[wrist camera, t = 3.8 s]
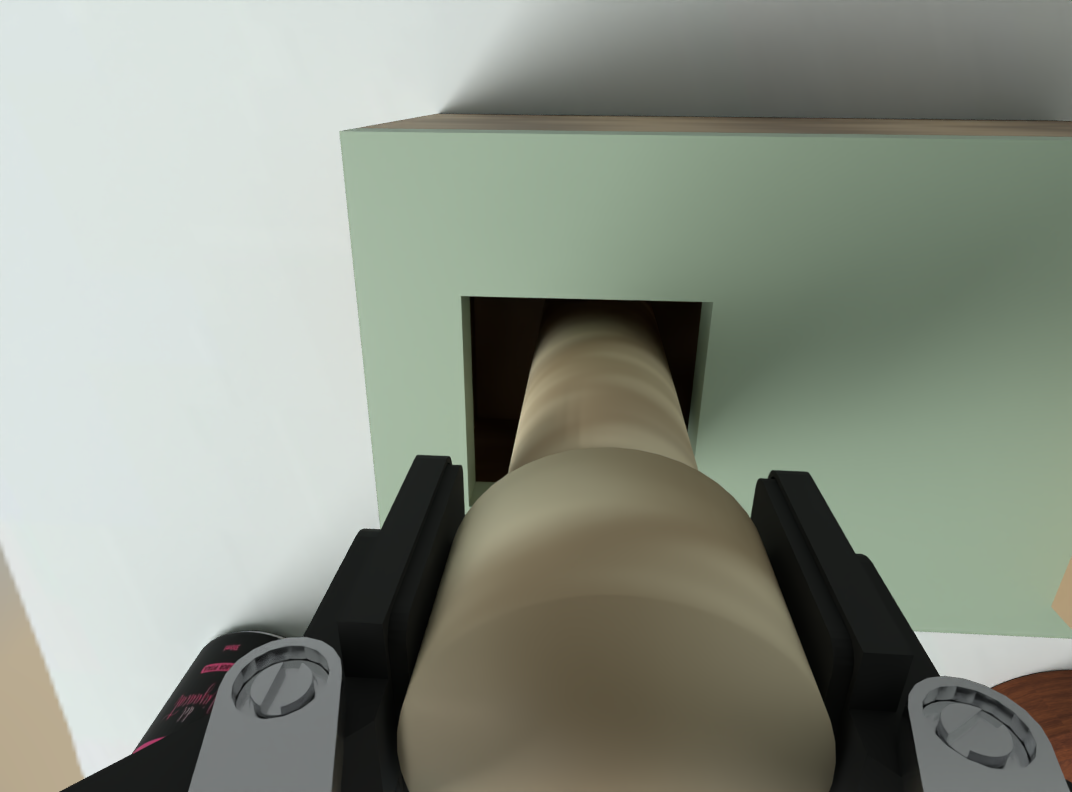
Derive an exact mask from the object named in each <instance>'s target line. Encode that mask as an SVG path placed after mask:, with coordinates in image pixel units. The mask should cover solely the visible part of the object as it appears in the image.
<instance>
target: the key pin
mask: <svg viewBox="0 0 1072 792" xmlns="http://www.w3.org/2000/svg"><path fill="white" fill-rule="evenodd" d="M397 753H398V758H399V763H400V768H401V772H402V775H403V777H404V780H405V783H406V785H407V788H408V790H409V792H829V790H830V788H831V785H832V782H833V776H834V770H835V764H836V751H835V738H834V734H833V729H832V725H831V721H830V718H829V715H828V713H827V710H826V707H825V705H824V702H823V700H822V697H821V694H820V692H819V689H818V686H817V684H816V681H815V679H814V676H813V673H812V671H811V668H810V665H809V663H808V660H807V658H806V655H805V652H804V650H803V647H802V644H801V642H800V639H799V637H798V634H797V631H796V629H795V626H794V623H793V621H792V618H791V616H790V613H789V610H788V608H787V605H786V602H785V600H784V597H783V594H782V592H781V589H780V587H779V584H778V581H777V579H776V576H775V573H774V571H773V568H772V566H771V563H770V560H769V558H768V555H767V552H766V550H765V547H764V545H763V542H762V540H761V537H760V535H759V533H758V530H757V528H756V526H755V525H754V523H753V522H752V520H751V518H750V517H749V515H748V514H747V512H746V511H745V510H744V509H743V507H742V506H741V505H740V504H739V503H738V501H737V500H736V499H735V498H734V497H733V496H732V495H731V494H730V493H729V492H727V491H726V490H725V489H724V488H723V487H722V486H721V485H719V484H718V483H717V482H715V481H714V480H712V479H711V478H709V477H708V476H706V475H705V474H703V473H702V472H700V471H698V468H697V464H696V461H695V457H694V454H693V450H692V447H691V443H690V440H689V436H688V432H687V429H686V425H685V422H684V418H683V415H682V411H681V408H680V404H679V401H678V397H677V394H676V390H675V387H674V383H673V379H672V376H671V372H670V369H669V365H668V362H667V358H666V355H665V351H664V348H663V344H662V341H661V337H660V334H659V330H658V327H657V323H656V319H655V316H654V312H653V309H652V305H651V302H650V301H647V300H605V299H564V298H547V300H546V303H545V305H544V309H543V314H542V318H541V323H540V328H539V332H538V337H537V342H536V346H535V351H534V355H533V360H532V365H531V369H530V374H529V379H528V383H527V388H526V392H525V397H524V402H523V406H522V411H521V416H520V420H519V425H518V429H517V434H516V439H515V443H514V448H513V453H512V457H511V462H510V466H509V471H508V474H507V475H506V476H504V477H503V478H502V479H500V480H499V481H497V482H496V483H495V484H493V485H492V486H491V487H490V488H489V489H488V490H487V491H486V492H484V493H483V494H482V495H481V496H480V497H479V498H478V499H477V500H476V502H475V503H474V504H473V506H472V507H471V508H470V509H469V511H468V512H467V513H466V515H465V517H464V518H463V520H462V522H461V524H460V526H459V527H458V529H457V532H456V535H455V537H454V540H453V543H452V546H451V549H450V552H449V555H448V559H447V562H446V565H445V568H444V572H443V575H442V578H441V581H440V585H439V588H438V591H437V595H436V598H435V601H434V604H433V608H432V611H431V614H430V617H429V621H428V624H427V627H426V630H425V634H424V637H423V640H422V644H421V647H420V650H419V653H418V657H417V660H416V663H415V666H414V670H413V673H412V676H411V680H410V683H409V686H408V689H407V692H406V696H405V699H404V702H403V706H402V709H401V712H400V717H399V723H398V729H397Z"/></svg>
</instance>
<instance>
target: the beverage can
mask: <svg viewBox="0 0 1072 792" xmlns="http://www.w3.org/2000/svg"><path fill="white" fill-rule="evenodd" d="M280 639H284V637H281V636H278V635H275V634H271V633H267V632H259V631H244V632H234V633H229V634H225V635H223V636H220V637H218V638H216V639H214V640H212V641H211V642H210V643H208V644H207V645H206V646H205V647H204V648H203V649H202V650H201V652H200V653H199V655H198V656H197V658H196V659H195V661H194V662H193V664H192V665H191V667H190V668H189V670H188V671H187V673H186V674H185V676H184V677H183V679H182V680H181V682H180V683H179V685H178V686H177V688H176V689H175V691H174V692H173V693H172V695H171V696H170V698H169V699H168V701H167V702H166V704H165V705H164V707H163V708H162V710H161V711H160V713H159V714H158V716H157V717H156V719H155V720H154V722H153V723H152V725H151V726H150V728H149V729H148V731H147V732H146V734H145V735H144V737H143V738H142V740H141V741H140V743H139V744H138V746H137V747H136V749H135V750H134V752H133V753H135V752H137V751H139V750H141V749H143V748H145V747H147V746H149V745H150V744H152V743H154V742H156V741H158V740H160V739H162V738H164V737H166V736H168V735H170V734H172V733H174V732H176V731H177V730H179V729H181V728H183V727H185V726H187V725H189V724H191V723H193V722H195V721H197V720H199V719H201V718H203V717H204V716H206V715H208V714H210V713H211V712H212V709H213V705H214V702H215V699H216V695H217V692H218V688H219V686H220V684H221V682H222V680H223V678H224V676H225V674H226V673H227V672H228V671H229V669H230V668H231V667H232V666H233V665H234V664H235V663H236V662H237V661H238V660H239V659H240V658H242V657H243V656H245V655H246V654H248V653H249V652H250V651H252V650H253V649H255V648H258V647H260V646H262V645H264V644H267V643H269V642H271V641H276V640H280ZM133 753H132V754H133Z"/></svg>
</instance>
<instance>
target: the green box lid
mask: <svg viewBox="0 0 1072 792" xmlns="http://www.w3.org/2000/svg"><path fill="white" fill-rule="evenodd" d="M339 132H340V141H341V151H342V161H343V171H344V180H345V190H346V200H347V209H348V219H349V229H350V239H351V248H352V258H353V268H354V277H355V287H356V297H357V307H358V316H359V326H360V336H361V345H362V355H363V365H364V375H365V384H366V394H367V404H368V413H369V423H370V433H371V443H372V452H373V462H374V472H375V482H376V491H377V501H378V511H379V520H380V529H381V528H382V526H383V524H384V521H385V519H386V517H387V515H388V513H389V511H390V509H391V507H392V505H393V503H394V501H395V498H396V496H397V494H398V492H399V490H400V488H401V486H402V484H403V482H404V480H405V477H406V475H407V473H408V471H409V469H410V467H411V465H412V463H413V461H414V459H415V457H416V455H437V456H450V457H451V461H452V465H462V467H463V478H464V503H465V515H466V513H467V512H468V511H469V509H470V508H471V507H472V506H473V504H474V503H475V502H476V500H477V499H478V498H479V497H480V496H481V495H482V494H483V493H484V492H486V491H487V490H488V489H489V488H490V487H491V486H492V485H493V484H495V483H496V482H476V479H475V448H474V418H473V387H472V356H471V326H470V296H482V297H523V298H564V299H605V300H647V301H688V302H702V308H701V317H700V326H699V335H698V344H697V353H696V362H695V371H694V380H693V389H692V398H691V407H690V415H689V424H688V436H689V440H690V443H691V447H692V450H693V454H694V457H695V461H696V464H697V468H698V471H700V472H702V473H703V474H705V475H706V476H708V477H709V478H711V479H712V480H714V481H715V482H717V483H718V484H719V485H721V486H722V487H723V488H724V489H725V490H726V491H727V492H729V493H730V494H731V495H732V496H733V497H734V498H735V499H736V500H737V501H738V503H739V504H740V505H741V506H742V507H743V509H744V510H745V511H746V512H747V514H748V515H749V517H751V511H752V505H753V499H754V493H755V487H756V483H757V480H758V479H759V478H767V479H768V476H769V473H770V472H771V471H772V470H784V471H806V472H809V474H810V475H811V476H812V478H813V480H814V482H815V483H816V485H817V487H818V489H819V490H820V492H821V494H822V496H823V497H824V499H825V501H826V503H827V504H828V506H829V508H830V510H831V511H832V513H833V515H834V517H835V518H836V520H837V522H838V524H839V525H840V527H841V529H842V531H843V532H844V534H845V536H846V538H847V539H848V541H849V543H850V545H851V546H852V548H853V550H854V552H855V553H856V554H863V555H866V556H867V557H868V558H869V559H870V560H871V561H872V563H873V564H874V566H875V568H876V569H877V571H878V573H879V575H880V576H881V578H882V580H883V581H884V583H885V585H886V586H887V588H888V590H889V591H890V593H891V595H892V596H893V598H894V600H895V601H896V603H897V605H898V606H899V608H900V610H901V611H902V613H903V615H904V616H905V618H906V620H907V622H908V623H909V625H910V627H911V628H912V630H913V631H919V632H940V633H961V634H983V635H1004V636H1025V637H1046V638H1068V639H1072V137H1047V136H964V135H882V134H800V133H717V132H635V131H553V130H471V129H388V128H355V129H350V130H344V131H339Z"/></svg>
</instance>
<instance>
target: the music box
mask: <svg viewBox="0 0 1072 792" xmlns="http://www.w3.org/2000/svg"><path fill="white" fill-rule="evenodd" d="M991 689H993V690H995V691H997V692H999V693H1001V694H1003V695H1005V696H1007V697H1008V698H1009V699H1011V700H1012V701H1013V702H1015V703H1016V704H1017V705H1019V706H1020V707H1022V708H1023V709H1024V710H1026V711H1027V712H1028V713H1029V715H1030V716H1031V717H1032V718H1033V719H1034V720H1035V721H1036V722H1037V723H1038V724H1039V725H1040V726H1041V727H1042V729H1043V731H1044V732H1045V734H1046V736H1047V738H1048V739H1049V741H1050V743H1051V745H1052V747H1053V750H1054V752H1055V755H1056V758H1057V760H1058V763H1059V765H1060V768H1061V770H1062V773H1063V775H1064V778H1065V779H1066V780H1068V781H1070V782H1072V670H1061V671H1050V672H1043V673H1037V674H1032V675H1027V676H1023V677H1020V678H1016V679H1013V680H1010V681H1007V682H1005V683H1002V684H1000V685H997V686H995V687H993V688H991Z"/></svg>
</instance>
